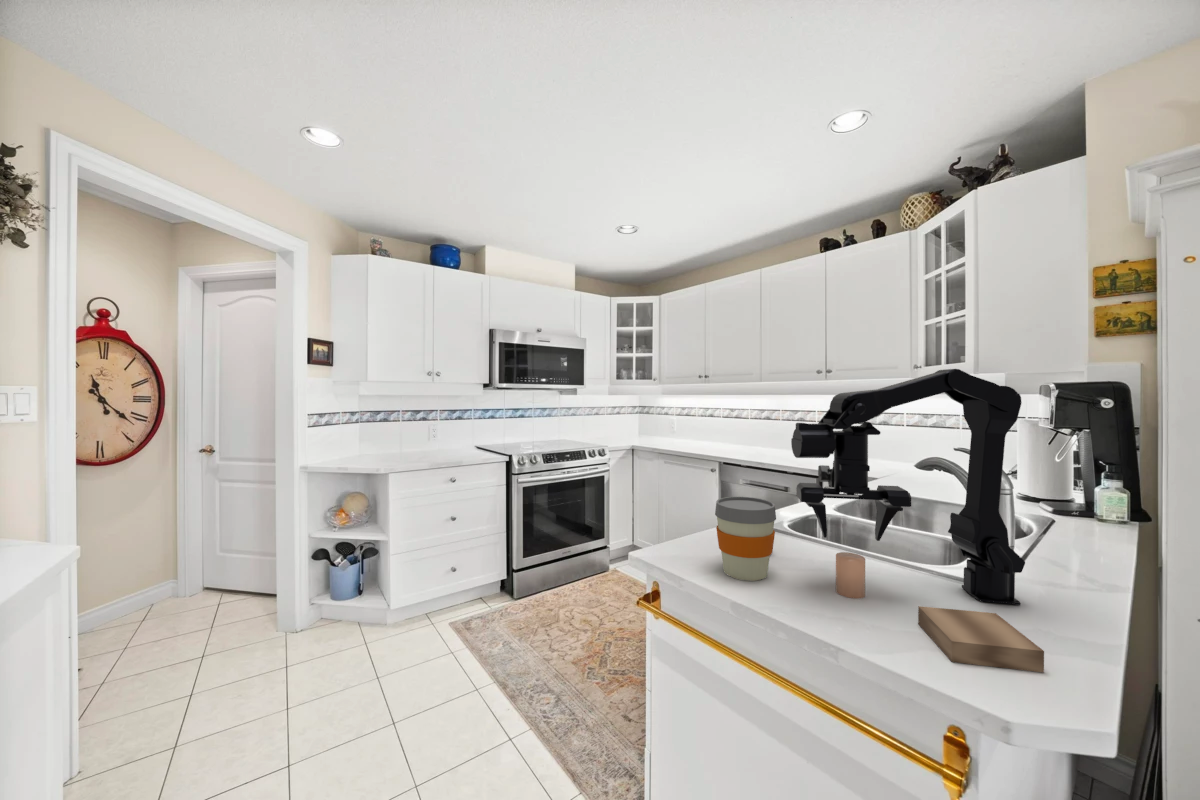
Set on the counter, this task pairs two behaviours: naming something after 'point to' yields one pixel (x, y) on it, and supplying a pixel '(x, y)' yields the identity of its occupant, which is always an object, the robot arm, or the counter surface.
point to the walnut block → (980, 639)
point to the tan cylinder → (850, 575)
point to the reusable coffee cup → (745, 536)
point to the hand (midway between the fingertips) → (850, 538)
